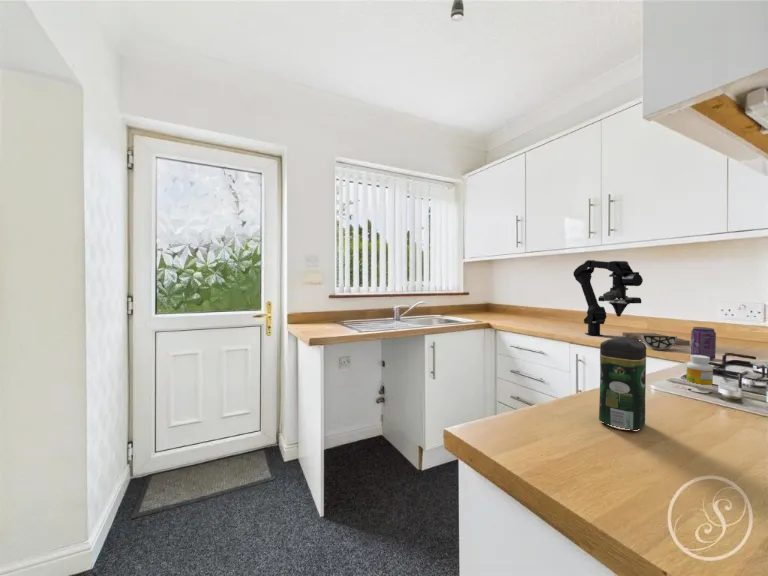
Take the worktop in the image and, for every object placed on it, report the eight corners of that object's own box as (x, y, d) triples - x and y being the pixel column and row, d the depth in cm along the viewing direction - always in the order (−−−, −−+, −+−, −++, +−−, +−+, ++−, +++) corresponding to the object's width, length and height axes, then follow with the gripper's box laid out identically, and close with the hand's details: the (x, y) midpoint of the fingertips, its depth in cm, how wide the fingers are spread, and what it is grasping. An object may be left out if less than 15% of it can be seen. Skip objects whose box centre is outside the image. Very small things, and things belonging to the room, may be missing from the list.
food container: (640, 348, 160) (642, 348, 152) (639, 335, 161) (641, 334, 152) (674, 350, 154) (678, 351, 145) (673, 336, 154) (677, 336, 146)
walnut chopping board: (622, 336, 187) (622, 332, 186) (653, 336, 185) (653, 332, 185) (654, 344, 163) (654, 340, 163) (689, 345, 162) (689, 340, 161)
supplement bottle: (681, 387, 99) (682, 353, 98) (702, 388, 98) (703, 354, 97) (694, 393, 93) (695, 358, 93) (717, 394, 92) (718, 358, 92)
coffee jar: (605, 412, 80) (607, 333, 79) (648, 422, 74) (650, 337, 74) (593, 424, 73) (595, 338, 73) (639, 437, 67) (641, 343, 67)
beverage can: (697, 355, 139) (698, 326, 139) (719, 359, 133) (720, 328, 132) (686, 357, 137) (687, 327, 136) (708, 361, 130) (709, 329, 130)
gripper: (590, 285, 180) (590, 315, 180) (625, 286, 162) (624, 319, 162) (606, 285, 183) (606, 314, 184) (642, 286, 166) (641, 318, 166)
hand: (618, 316), depth 174 cm, fingers closed
